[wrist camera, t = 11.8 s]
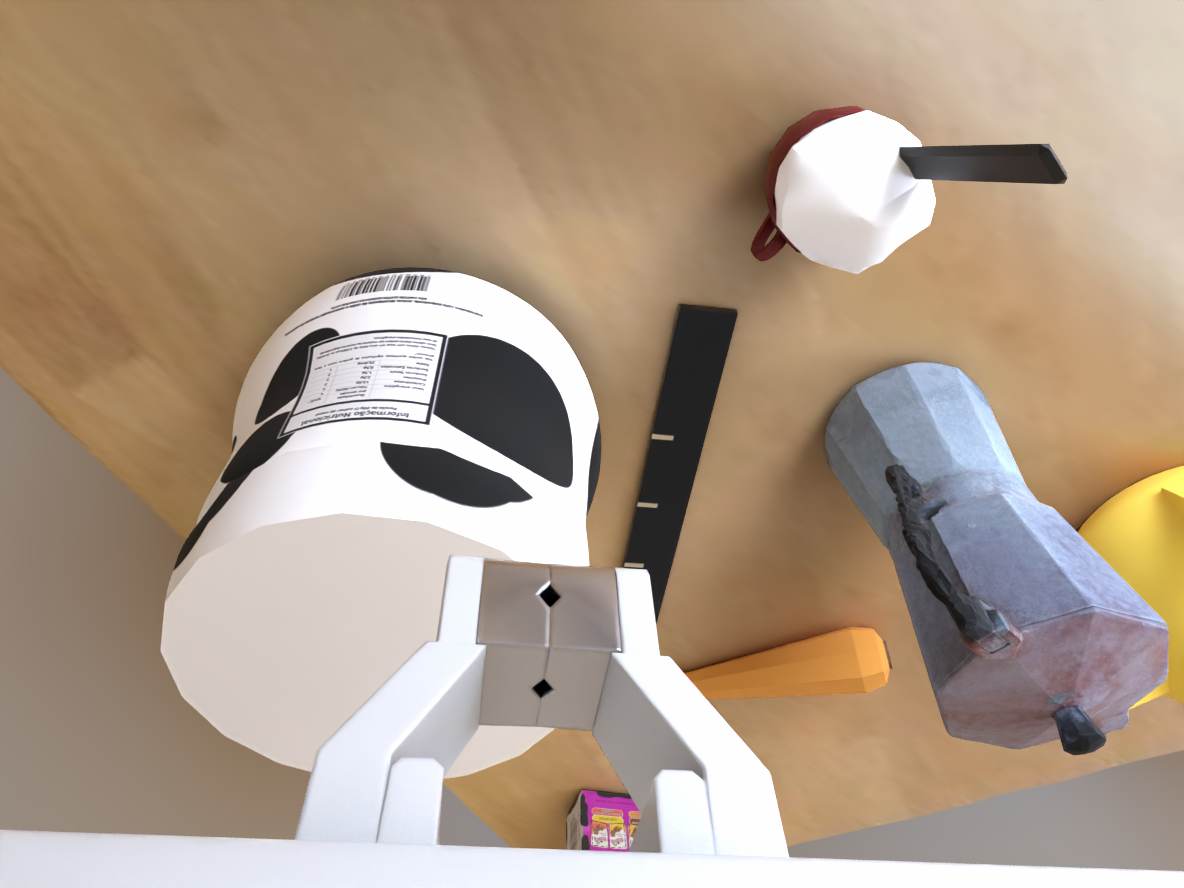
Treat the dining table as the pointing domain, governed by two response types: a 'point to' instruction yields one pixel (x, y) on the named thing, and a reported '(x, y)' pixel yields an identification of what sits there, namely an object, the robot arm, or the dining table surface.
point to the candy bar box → (602, 822)
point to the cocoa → (872, 185)
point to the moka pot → (991, 569)
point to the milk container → (375, 502)
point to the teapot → (1149, 556)
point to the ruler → (677, 439)
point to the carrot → (802, 668)
